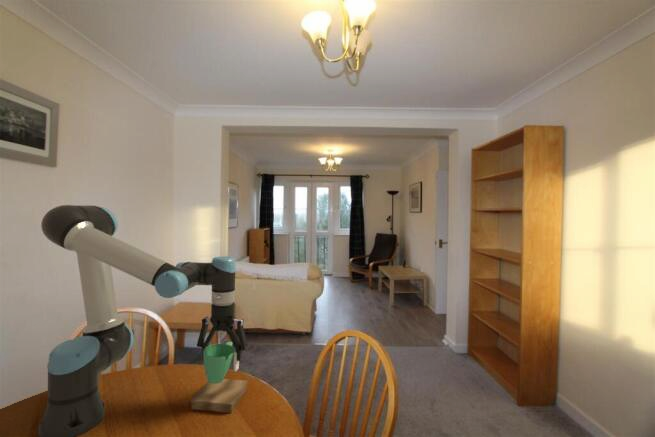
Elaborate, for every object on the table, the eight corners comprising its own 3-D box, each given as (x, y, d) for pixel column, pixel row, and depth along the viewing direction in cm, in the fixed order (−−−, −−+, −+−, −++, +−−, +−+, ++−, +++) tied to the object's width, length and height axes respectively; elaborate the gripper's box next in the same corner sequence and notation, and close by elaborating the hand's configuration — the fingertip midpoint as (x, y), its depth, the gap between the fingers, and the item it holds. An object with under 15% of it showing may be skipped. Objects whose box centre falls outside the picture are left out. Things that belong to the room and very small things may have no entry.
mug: (222, 390, 98) (226, 359, 98) (193, 384, 99) (197, 353, 99) (241, 368, 113) (244, 340, 113) (215, 363, 114) (218, 336, 114)
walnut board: (189, 409, 100) (190, 400, 100) (210, 385, 114) (211, 377, 114) (231, 413, 98) (232, 404, 98) (247, 389, 112) (248, 380, 112)
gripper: (185, 304, 103) (184, 371, 103) (250, 308, 101) (249, 376, 101) (197, 298, 110) (196, 360, 111) (258, 301, 108) (257, 365, 108)
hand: (221, 368), depth 106 cm, fingers closed on mug, 9 cm apart
